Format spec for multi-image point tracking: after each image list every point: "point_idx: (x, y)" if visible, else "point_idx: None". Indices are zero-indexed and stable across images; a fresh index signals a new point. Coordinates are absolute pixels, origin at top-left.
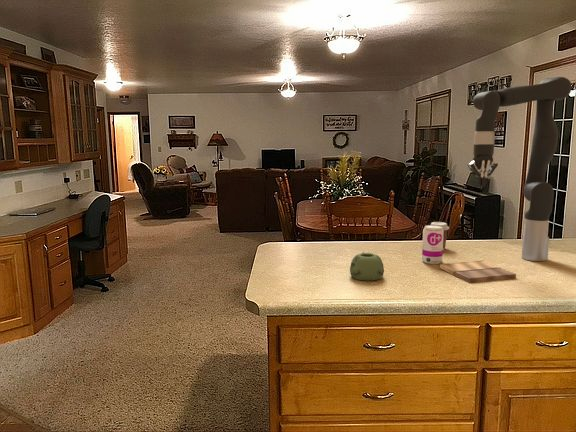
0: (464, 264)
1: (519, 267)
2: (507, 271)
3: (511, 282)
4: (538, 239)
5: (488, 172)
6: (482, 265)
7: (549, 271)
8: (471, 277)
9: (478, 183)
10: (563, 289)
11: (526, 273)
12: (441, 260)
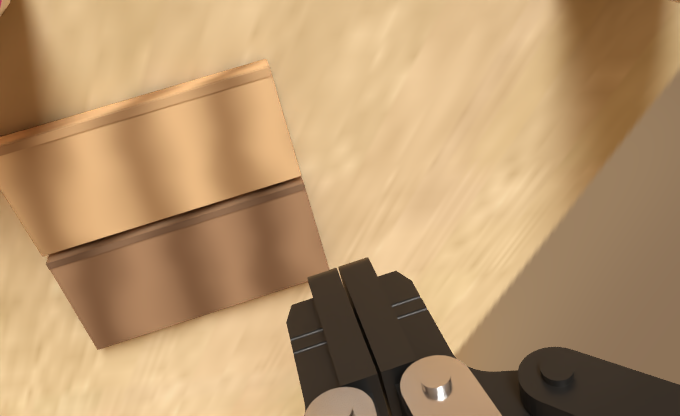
0: (128, 145)
1: (433, 97)
2: (310, 242)
3: (281, 316)
4: (675, 1)
5: (626, 402)
6: (227, 154)
7: (523, 160)
8: (110, 338)
9: (299, 339)
10: None
11: (408, 195)
12: (2, 11)
